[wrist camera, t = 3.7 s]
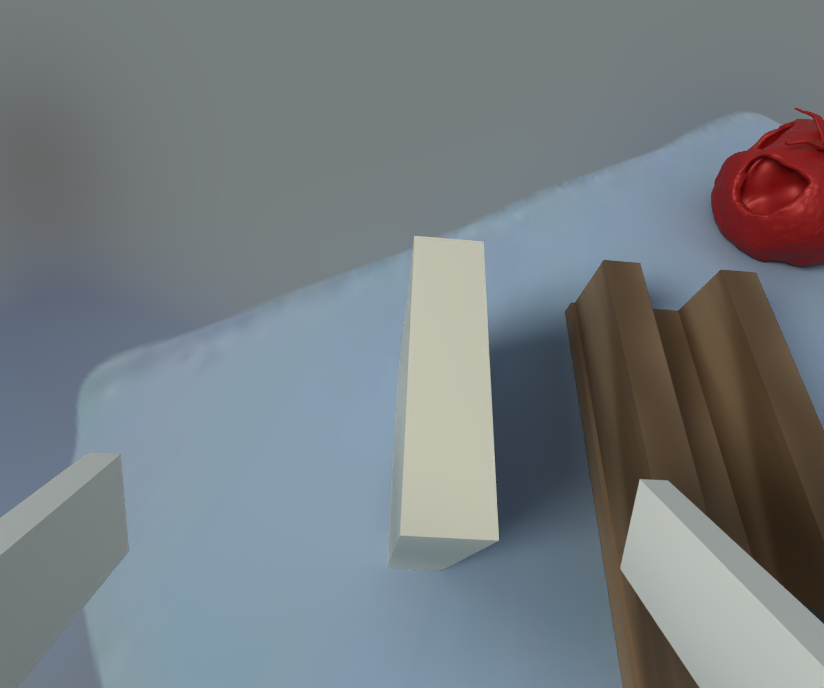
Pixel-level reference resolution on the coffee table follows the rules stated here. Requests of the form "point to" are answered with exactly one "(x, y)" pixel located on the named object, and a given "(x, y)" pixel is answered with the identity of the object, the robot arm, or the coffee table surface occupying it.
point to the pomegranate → (776, 195)
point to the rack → (696, 437)
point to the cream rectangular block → (443, 413)
